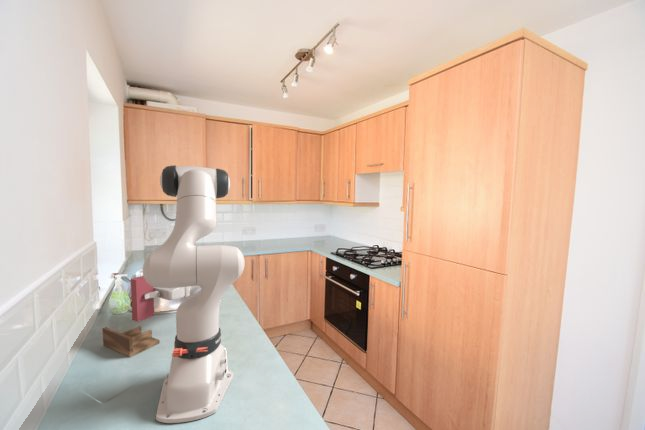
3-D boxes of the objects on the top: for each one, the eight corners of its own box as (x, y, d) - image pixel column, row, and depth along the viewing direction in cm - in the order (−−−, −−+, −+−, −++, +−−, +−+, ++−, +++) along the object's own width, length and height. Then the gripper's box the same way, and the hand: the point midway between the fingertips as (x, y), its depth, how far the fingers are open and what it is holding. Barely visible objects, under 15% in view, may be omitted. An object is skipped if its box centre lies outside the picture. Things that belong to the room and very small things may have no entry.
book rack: (133, 333, 108) (132, 317, 108) (159, 343, 101) (159, 326, 100) (103, 345, 99) (102, 328, 99) (130, 357, 92) (129, 339, 92)
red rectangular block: (149, 313, 107) (147, 274, 106) (154, 315, 105) (152, 275, 104) (132, 320, 101) (130, 278, 100) (137, 321, 100) (136, 280, 99)
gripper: (159, 274, 119) (123, 283, 106) (191, 280, 109) (157, 291, 97) (159, 289, 119) (124, 299, 107) (192, 296, 110) (157, 309, 97)
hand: (140, 295), depth 102 cm, fingers closed on red rectangular block, 3 cm apart
